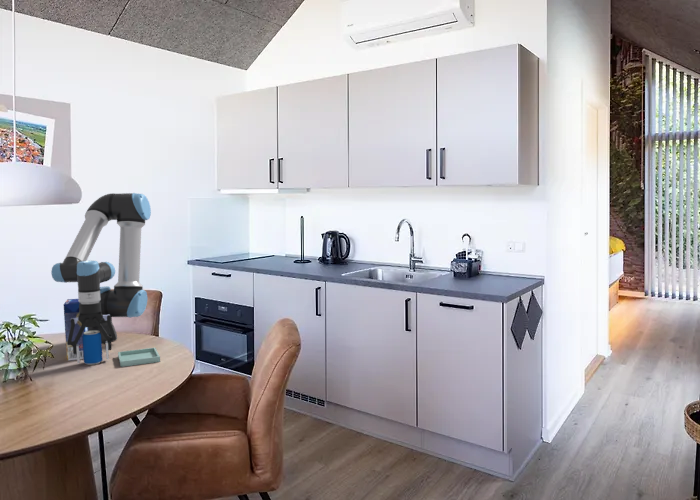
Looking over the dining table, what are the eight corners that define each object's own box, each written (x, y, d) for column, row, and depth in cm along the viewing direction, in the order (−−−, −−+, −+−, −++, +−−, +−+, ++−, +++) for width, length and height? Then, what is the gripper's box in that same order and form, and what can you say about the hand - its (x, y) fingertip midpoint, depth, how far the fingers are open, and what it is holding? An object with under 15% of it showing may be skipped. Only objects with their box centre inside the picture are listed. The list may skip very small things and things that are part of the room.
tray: (118, 356, 220) (117, 352, 220) (155, 352, 226) (155, 347, 226) (120, 367, 208) (120, 361, 207) (160, 361, 214) (160, 356, 214)
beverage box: (89, 351, 228) (86, 298, 226) (86, 358, 218) (83, 303, 216) (70, 352, 226) (67, 299, 224) (66, 360, 216) (63, 304, 213)
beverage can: (105, 360, 216) (104, 330, 214) (96, 365, 209) (95, 334, 208) (90, 360, 216) (88, 329, 215) (80, 365, 210) (78, 334, 208)
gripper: (56, 306, 202) (60, 367, 204) (122, 301, 212) (125, 358, 214) (57, 303, 209) (60, 361, 211) (120, 297, 218) (123, 353, 221)
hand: (93, 360), depth 213 cm, fingers open, 9 cm apart
